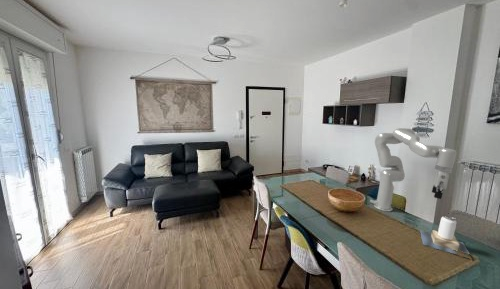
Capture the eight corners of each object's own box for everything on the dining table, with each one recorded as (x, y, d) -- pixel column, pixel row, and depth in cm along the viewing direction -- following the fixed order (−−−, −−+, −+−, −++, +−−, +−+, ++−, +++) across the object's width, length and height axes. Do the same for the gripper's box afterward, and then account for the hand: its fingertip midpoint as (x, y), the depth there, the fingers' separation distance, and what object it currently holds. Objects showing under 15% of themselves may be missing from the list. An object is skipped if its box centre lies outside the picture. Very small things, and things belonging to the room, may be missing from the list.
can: (447, 241, 115) (452, 221, 113) (434, 234, 121) (438, 215, 119) (455, 239, 117) (460, 220, 115) (442, 233, 123) (446, 214, 121)
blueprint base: (423, 245, 118) (424, 237, 117) (419, 231, 133) (421, 224, 132) (472, 260, 107) (474, 252, 106) (462, 243, 122) (464, 236, 121)
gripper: (455, 173, 115) (447, 202, 118) (448, 167, 129) (441, 192, 132) (437, 170, 119) (430, 198, 122) (433, 164, 133) (426, 189, 136)
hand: (436, 195), depth 127 cm, fingers open, 9 cm apart
